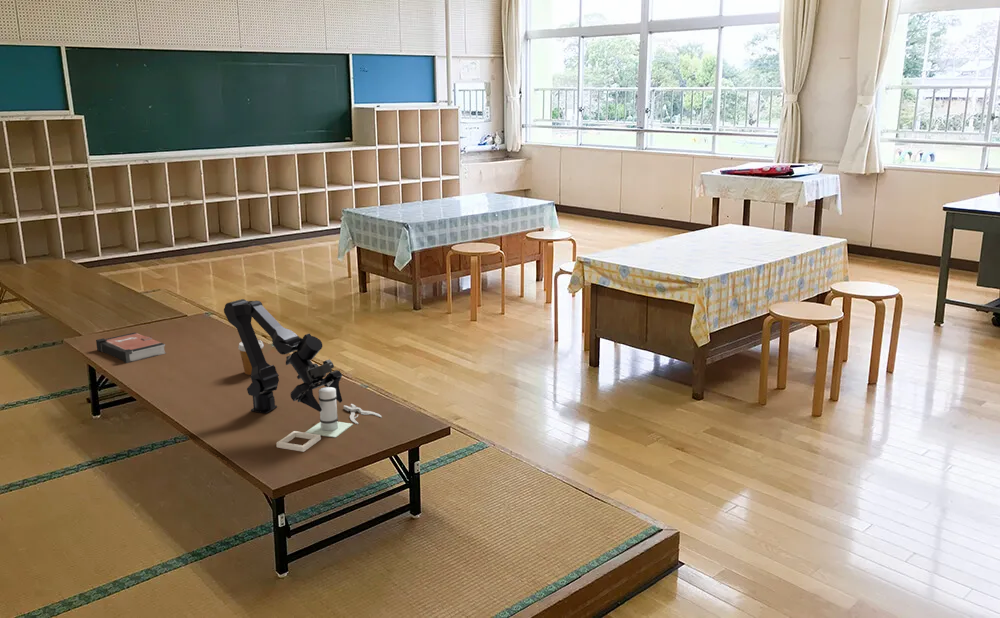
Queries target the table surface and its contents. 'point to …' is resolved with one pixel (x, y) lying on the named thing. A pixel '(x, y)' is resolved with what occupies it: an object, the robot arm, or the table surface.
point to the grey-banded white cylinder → (328, 409)
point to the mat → (334, 433)
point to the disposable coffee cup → (245, 358)
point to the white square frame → (313, 437)
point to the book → (130, 347)
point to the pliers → (355, 409)
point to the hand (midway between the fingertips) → (331, 406)
